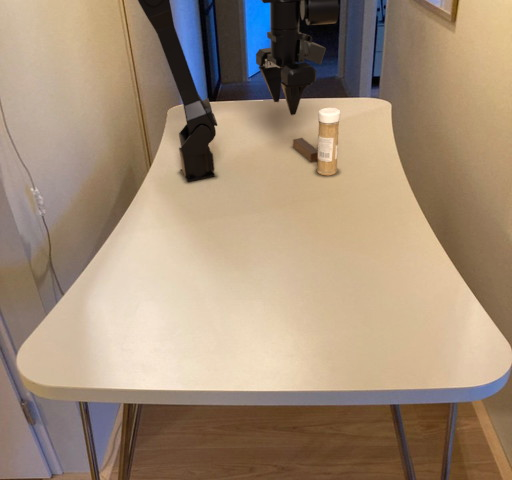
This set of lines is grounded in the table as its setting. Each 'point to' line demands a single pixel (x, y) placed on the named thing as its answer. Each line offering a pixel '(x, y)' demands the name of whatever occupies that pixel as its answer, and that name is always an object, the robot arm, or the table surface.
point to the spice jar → (328, 140)
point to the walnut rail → (305, 149)
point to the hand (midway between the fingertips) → (284, 108)
